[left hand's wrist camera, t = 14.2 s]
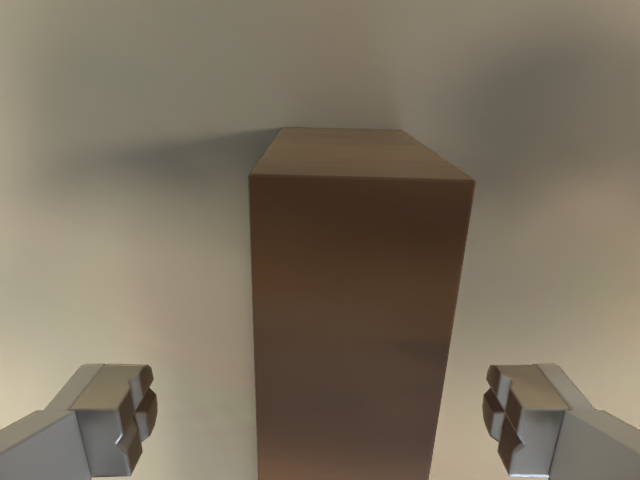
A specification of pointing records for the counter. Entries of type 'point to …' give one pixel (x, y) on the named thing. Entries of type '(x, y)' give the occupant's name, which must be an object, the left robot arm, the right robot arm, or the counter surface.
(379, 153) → the bar
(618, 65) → the counter surface
